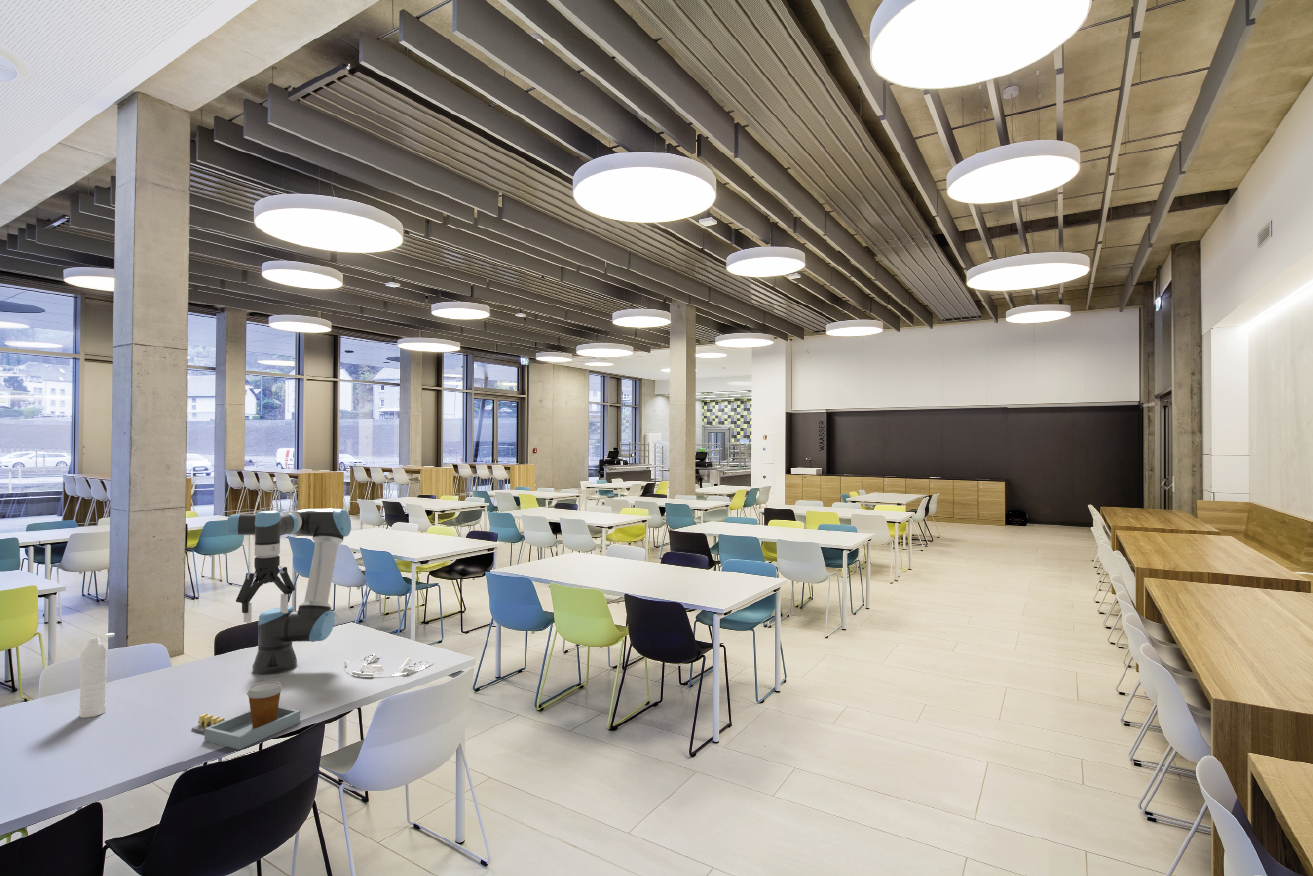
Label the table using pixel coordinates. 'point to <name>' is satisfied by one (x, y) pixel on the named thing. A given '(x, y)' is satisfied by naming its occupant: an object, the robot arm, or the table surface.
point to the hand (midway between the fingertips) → (266, 617)
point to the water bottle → (93, 678)
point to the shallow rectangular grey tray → (249, 728)
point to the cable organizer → (380, 668)
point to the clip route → (206, 722)
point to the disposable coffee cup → (264, 702)
